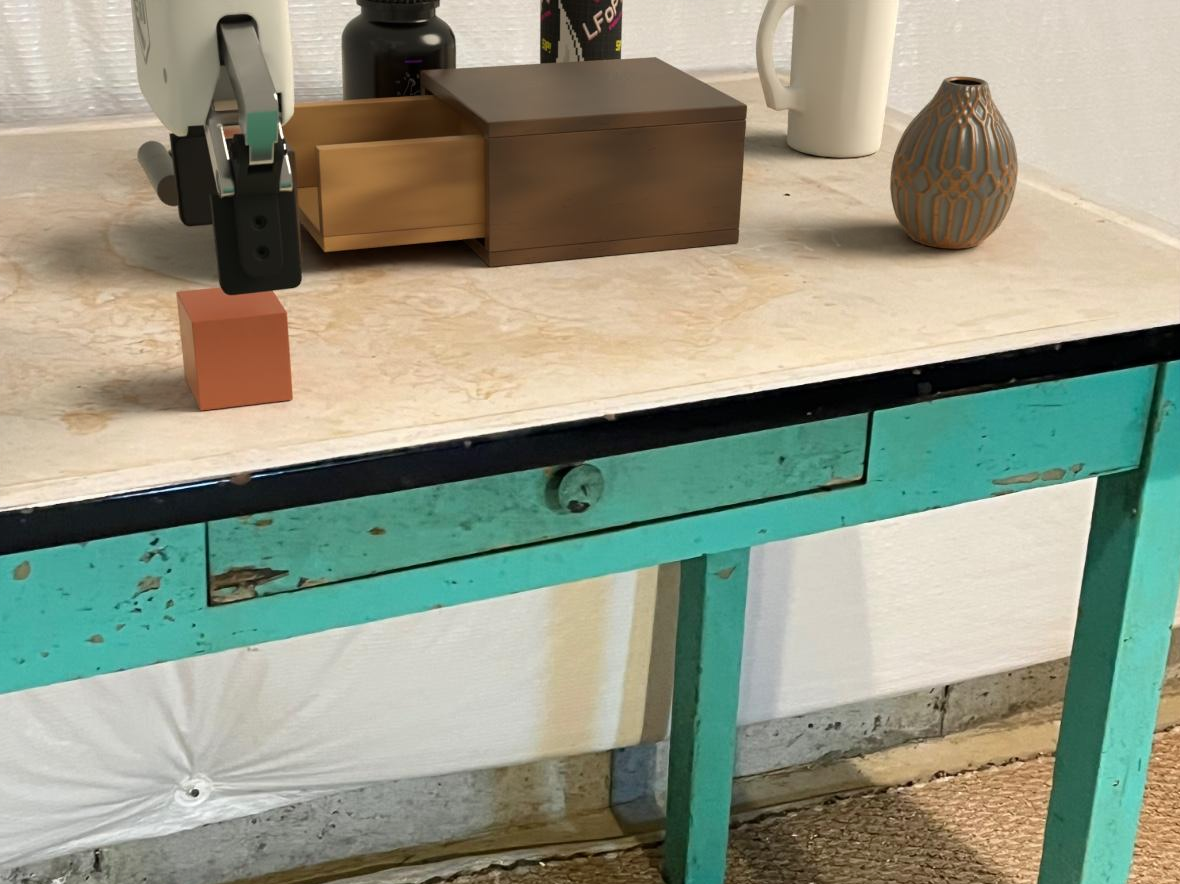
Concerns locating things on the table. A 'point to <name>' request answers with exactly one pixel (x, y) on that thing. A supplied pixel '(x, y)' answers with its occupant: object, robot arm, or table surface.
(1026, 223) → the table surface
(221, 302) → the block
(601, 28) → the beverage can
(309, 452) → the table surface
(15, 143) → the table surface
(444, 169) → the drawer
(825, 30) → the mug
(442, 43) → the supplement bottle
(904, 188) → the vase
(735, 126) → the cabinet
